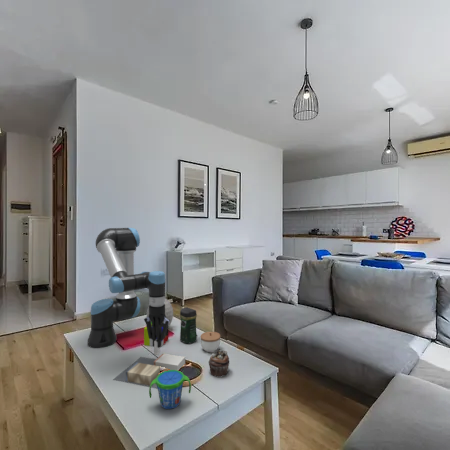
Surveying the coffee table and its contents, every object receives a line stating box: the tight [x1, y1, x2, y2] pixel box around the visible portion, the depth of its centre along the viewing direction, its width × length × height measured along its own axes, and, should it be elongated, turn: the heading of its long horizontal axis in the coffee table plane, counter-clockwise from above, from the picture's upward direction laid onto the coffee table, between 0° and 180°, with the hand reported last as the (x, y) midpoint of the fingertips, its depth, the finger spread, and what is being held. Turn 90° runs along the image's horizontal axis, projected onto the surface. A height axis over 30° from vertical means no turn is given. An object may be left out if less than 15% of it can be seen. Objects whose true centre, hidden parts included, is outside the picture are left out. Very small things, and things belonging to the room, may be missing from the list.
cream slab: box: [154, 353, 186, 370], centre depth 130 cm, size 4×8×12 cm
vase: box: [146, 297, 174, 328], centre depth 174 cm, size 16×16×22 cm
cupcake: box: [208, 348, 230, 378], centre depth 127 cm, size 10×10×10 cm
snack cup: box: [148, 370, 192, 410], centre depth 106 cm, size 16×10×10 cm
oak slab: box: [126, 363, 160, 386], centre depth 122 cm, size 4×8×12 cm
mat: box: [112, 356, 158, 390], centre depth 127 cm, size 26×21×1 cm
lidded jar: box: [199, 331, 221, 354], centre depth 149 cm, size 11×11×9 cm
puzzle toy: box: [143, 322, 169, 348], centre depth 157 cm, size 10×10×10 cm
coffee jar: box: [179, 306, 198, 344], centre depth 160 cm, size 10×8×19 cm
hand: (157, 353), depth 132 cm, fingers closed
